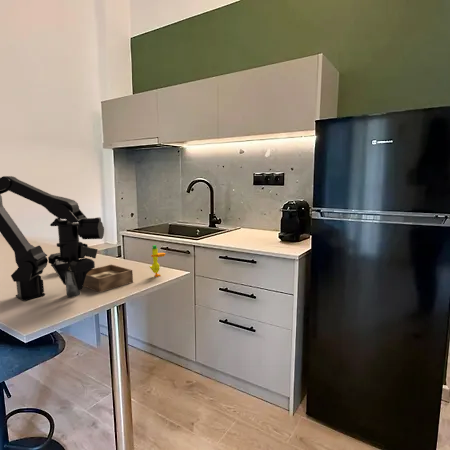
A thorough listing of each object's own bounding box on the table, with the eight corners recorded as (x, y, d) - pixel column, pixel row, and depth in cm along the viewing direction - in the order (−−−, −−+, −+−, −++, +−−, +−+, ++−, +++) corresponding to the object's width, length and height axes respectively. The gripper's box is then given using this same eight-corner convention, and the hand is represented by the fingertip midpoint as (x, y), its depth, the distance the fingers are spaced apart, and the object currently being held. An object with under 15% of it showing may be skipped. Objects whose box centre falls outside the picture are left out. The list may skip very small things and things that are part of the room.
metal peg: (70, 297, 104) (68, 273, 102) (64, 295, 106) (62, 271, 105) (82, 294, 107) (80, 270, 106) (76, 291, 109) (74, 268, 108)
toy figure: (164, 273, 129) (163, 243, 127) (167, 275, 126) (166, 245, 124) (147, 276, 126) (146, 245, 124) (150, 278, 123) (149, 247, 121)
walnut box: (99, 292, 108) (98, 279, 108) (79, 284, 117) (78, 272, 116) (132, 282, 119) (132, 270, 118) (112, 275, 127) (111, 264, 126)
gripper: (108, 238, 104) (111, 286, 106) (78, 233, 116) (81, 276, 118) (74, 244, 96) (78, 296, 98) (45, 238, 107) (49, 284, 109)
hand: (72, 287), depth 106 cm, fingers open, 9 cm apart
